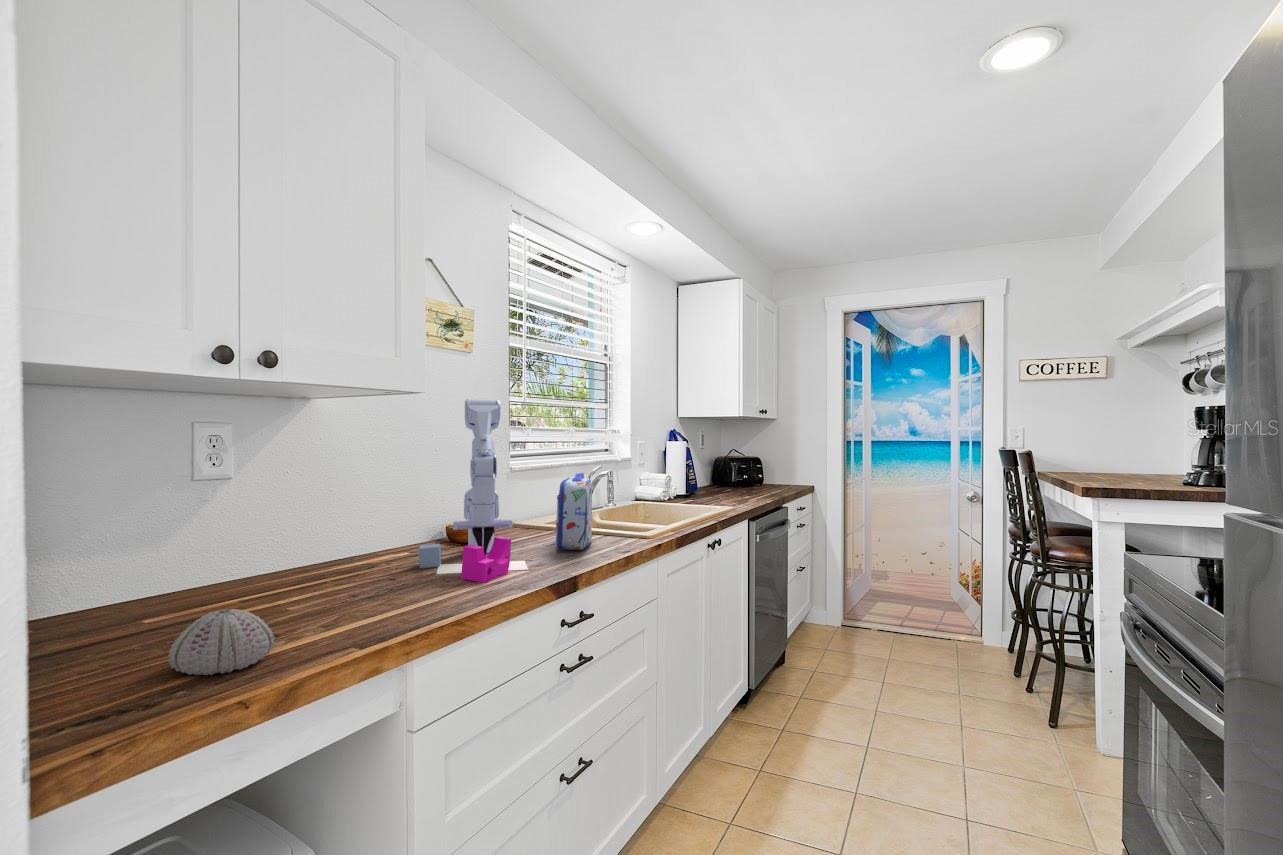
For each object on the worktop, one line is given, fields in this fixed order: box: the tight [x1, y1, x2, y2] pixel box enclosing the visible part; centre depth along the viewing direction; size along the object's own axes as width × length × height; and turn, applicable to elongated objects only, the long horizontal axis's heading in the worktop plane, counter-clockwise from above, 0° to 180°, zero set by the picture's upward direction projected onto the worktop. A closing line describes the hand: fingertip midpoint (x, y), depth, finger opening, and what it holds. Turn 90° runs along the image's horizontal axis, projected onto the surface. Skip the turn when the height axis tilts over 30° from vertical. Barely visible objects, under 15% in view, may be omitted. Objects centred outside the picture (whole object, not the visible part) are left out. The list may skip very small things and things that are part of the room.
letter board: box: [436, 560, 529, 575], centre depth 163 cm, size 11×22×1 cm, turn 105°
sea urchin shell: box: [167, 608, 276, 676], centre depth 96 cm, size 13×14×8 cm
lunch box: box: [555, 472, 593, 551], centre depth 195 cm, size 28×10×22 cm, turn 3°
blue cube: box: [418, 543, 442, 569], centre depth 165 cm, size 5×5×5 cm
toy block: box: [460, 535, 512, 584], centre depth 155 cm, size 15×6×8 cm, turn 160°
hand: (482, 557), depth 162 cm, fingers closed
